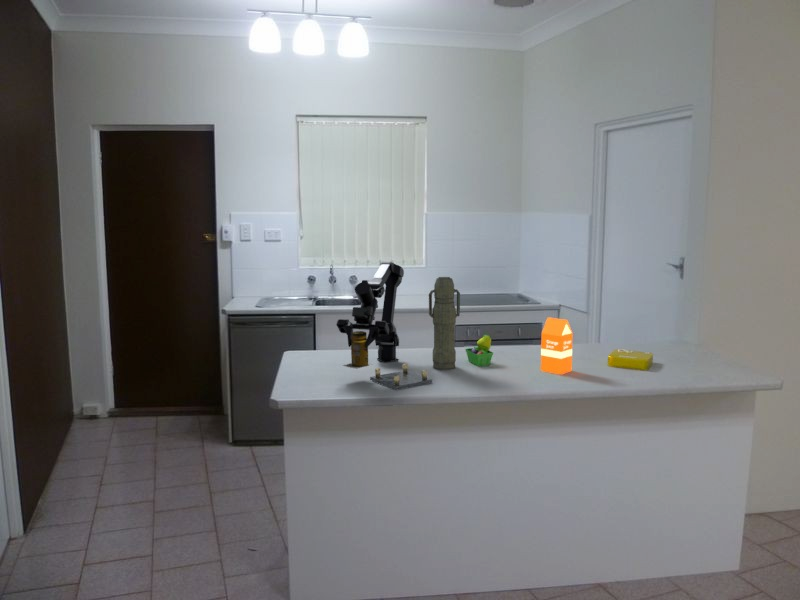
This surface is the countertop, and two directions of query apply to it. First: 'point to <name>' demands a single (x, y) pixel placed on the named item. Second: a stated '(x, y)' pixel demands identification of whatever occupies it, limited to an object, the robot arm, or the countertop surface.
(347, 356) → the countertop surface
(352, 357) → the condiment
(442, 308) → the thermos
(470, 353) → the fruit basket
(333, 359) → the countertop surface
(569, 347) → the orange juice
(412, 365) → the countertop surface
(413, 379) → the chassis plate
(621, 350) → the element tile
